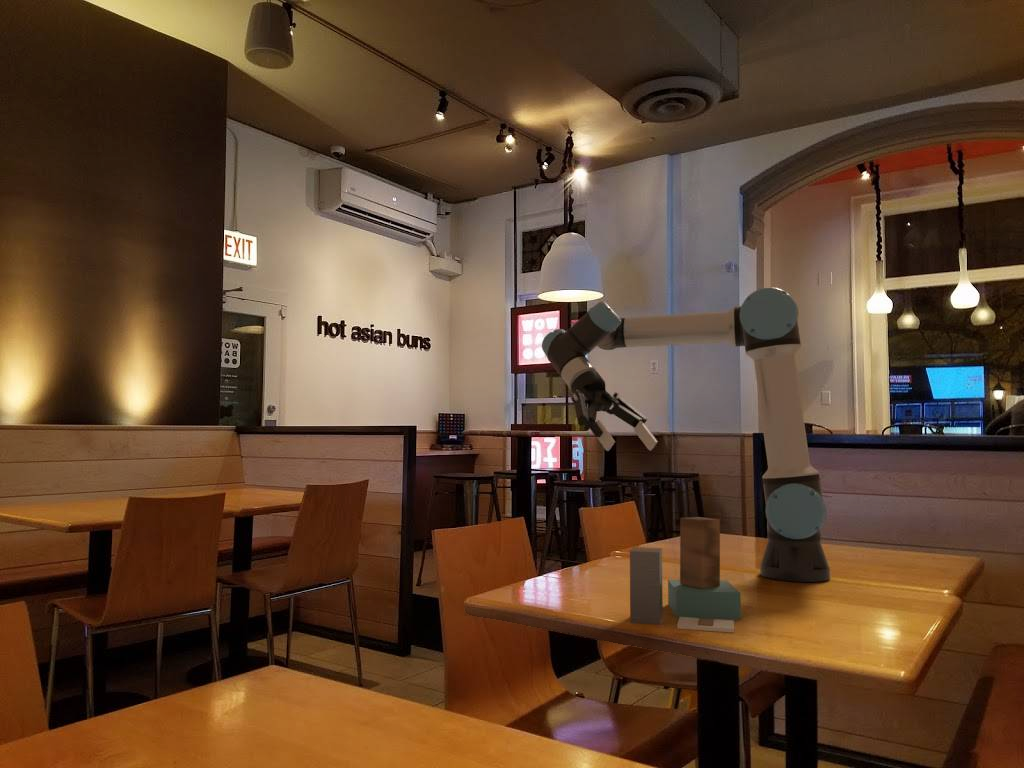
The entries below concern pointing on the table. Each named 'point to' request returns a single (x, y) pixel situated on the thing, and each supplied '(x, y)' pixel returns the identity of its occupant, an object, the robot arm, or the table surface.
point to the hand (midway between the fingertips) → (632, 446)
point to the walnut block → (700, 552)
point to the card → (706, 624)
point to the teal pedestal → (704, 601)
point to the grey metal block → (646, 585)
